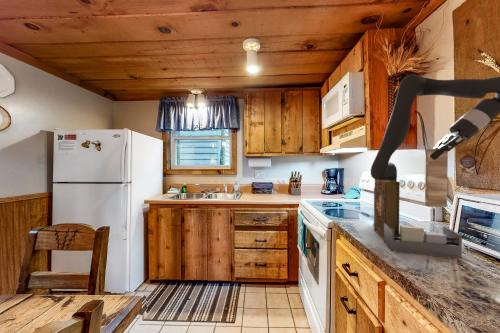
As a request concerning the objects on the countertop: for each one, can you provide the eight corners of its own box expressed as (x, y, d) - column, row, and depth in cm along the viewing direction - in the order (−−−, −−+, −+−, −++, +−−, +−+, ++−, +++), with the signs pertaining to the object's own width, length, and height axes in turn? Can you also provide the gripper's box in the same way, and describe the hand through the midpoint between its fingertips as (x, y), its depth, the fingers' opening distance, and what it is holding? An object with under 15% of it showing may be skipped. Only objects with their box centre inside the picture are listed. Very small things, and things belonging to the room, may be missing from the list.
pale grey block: (423, 251, 91) (424, 232, 91) (442, 252, 90) (443, 233, 89) (426, 253, 89) (426, 234, 89) (446, 255, 87) (446, 235, 87)
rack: (384, 241, 102) (384, 222, 101) (445, 247, 95) (445, 226, 95) (391, 251, 91) (391, 230, 90) (461, 258, 84) (461, 235, 84)
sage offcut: (399, 248, 94) (399, 225, 93) (420, 250, 92) (421, 226, 91) (401, 251, 91) (401, 227, 91) (423, 253, 89) (423, 228, 89)
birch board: (425, 205, 96) (425, 149, 95) (443, 205, 94) (443, 148, 93) (428, 206, 93) (428, 148, 92) (446, 207, 91) (447, 148, 91)
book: (373, 229, 120) (373, 178, 119) (385, 230, 119) (386, 179, 118) (384, 240, 104) (385, 181, 103) (398, 241, 102) (399, 181, 102)
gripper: (451, 121, 97) (415, 152, 101) (471, 114, 84) (429, 150, 87) (466, 133, 96) (430, 164, 100) (490, 129, 82) (447, 165, 86)
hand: (430, 157), depth 93 cm, fingers closed on birch board, 3 cm apart
